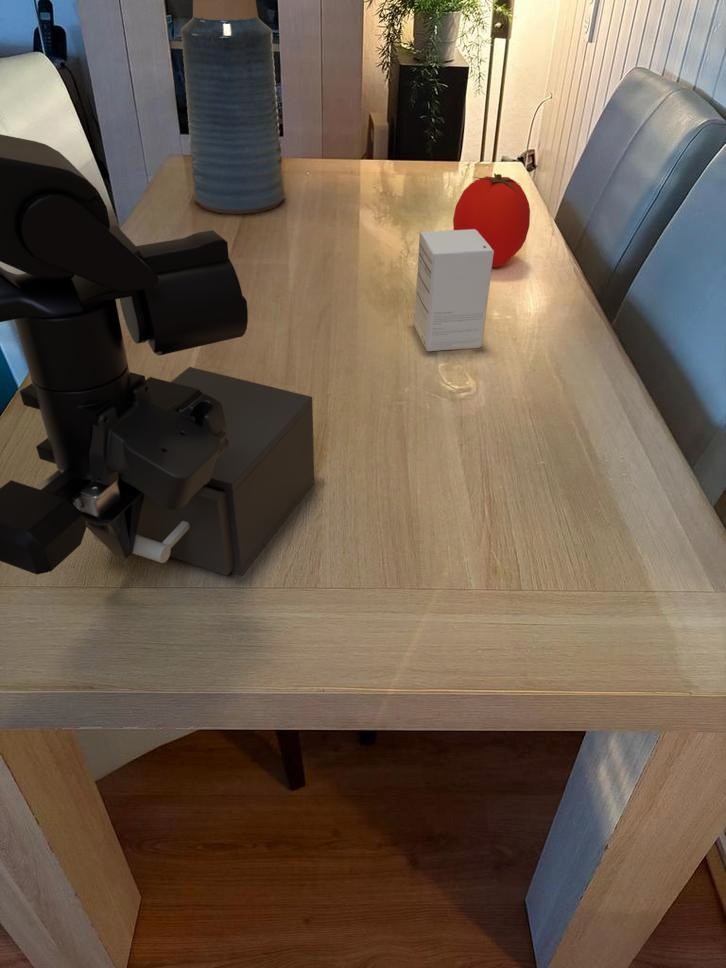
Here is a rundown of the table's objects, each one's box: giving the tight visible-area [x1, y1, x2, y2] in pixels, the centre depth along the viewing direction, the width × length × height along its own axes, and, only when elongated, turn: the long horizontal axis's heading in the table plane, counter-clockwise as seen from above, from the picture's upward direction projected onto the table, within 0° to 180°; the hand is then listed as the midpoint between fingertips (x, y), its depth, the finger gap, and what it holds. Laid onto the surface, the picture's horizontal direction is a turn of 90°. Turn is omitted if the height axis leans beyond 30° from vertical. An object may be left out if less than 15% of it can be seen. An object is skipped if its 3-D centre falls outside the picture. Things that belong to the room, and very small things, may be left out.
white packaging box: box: [413, 229, 494, 352], centre depth 91 cm, size 7×7×13 cm
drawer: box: [93, 484, 234, 576], centre depth 62 cm, size 17×11×8 cm
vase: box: [180, 0, 286, 215], centre depth 126 cm, size 16×16×32 cm
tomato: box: [452, 172, 531, 268], centre depth 111 cm, size 12×12×13 cm
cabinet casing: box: [170, 366, 315, 577], centre depth 65 cm, size 14×13×10 cm
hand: (124, 555), depth 55 cm, fingers closed
